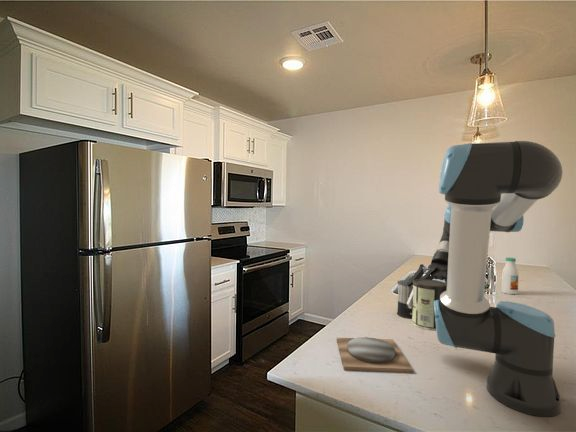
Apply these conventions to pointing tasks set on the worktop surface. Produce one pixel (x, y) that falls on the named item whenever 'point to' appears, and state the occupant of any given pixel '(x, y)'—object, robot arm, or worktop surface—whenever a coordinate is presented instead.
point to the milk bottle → (510, 277)
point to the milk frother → (403, 300)
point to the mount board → (370, 366)
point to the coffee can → (426, 302)
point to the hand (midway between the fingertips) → (424, 310)
